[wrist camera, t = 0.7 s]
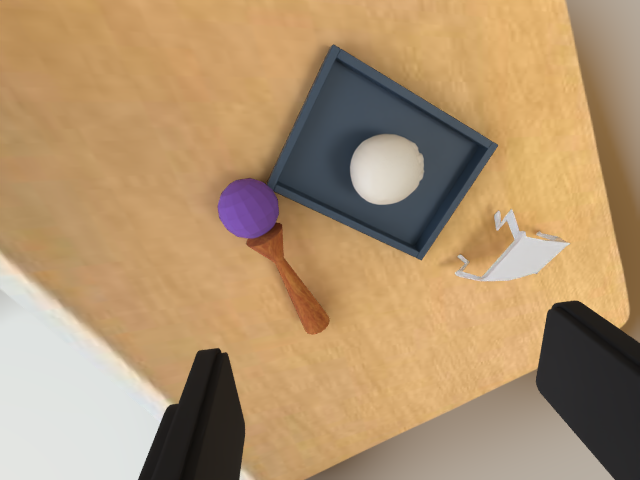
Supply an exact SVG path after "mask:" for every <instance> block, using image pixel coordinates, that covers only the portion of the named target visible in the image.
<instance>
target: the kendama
mask: <svg viewBox="0 0 640 480" xmlns="http://www.w3.org/2000/svg"><path fill="white" fill-rule="evenodd" d="M218 212H219V218H220V220H221V221H222V223H223V224H224V226H225V227H226V228H227V230H228V231H230V232H231V233H233V234H234V235H236V236H237V237H243V238H248V240H247V245H248V246H249V247H250V248H252V249H254V250H255V251H257V252H258V253H260V254H262V255H263V256H265V257H267V258H268V259H270V260H272V261H273V262H275V263H276V266H277V268H278V270H279V272H280V275H281V277H282V279H283V281H284V284H285V286H286V288H287V290H288V293H289V295H290V297H291V299H292V302H293V304H294V306H295V308H296V311H297V313H298V315H299V317H300V320H301V322H302V324H303V326H304V329H305V331H306V332H307V333H308V334H317V333H320V332H322V331H323V330H324V329H325V328H326V327H327V326H328V324H329V321H330V320H329V316H328V315H327V314H326V312H325V311H324V310H323V308H322V307H321V306H320V304H319V303H318V302H317V301H316V299H315V298H314V297H313V295H312V294H311V293H310V291H309V290H308V289H307V287H306V286H305V285H304V283H303V282H302V281H301V280H300V278H299V277H298V276H297V274H296V273H295V272H294V270H293V269H292V268H291V266H290V265H289V264H288V262H287V261H286V260H285V258H284V253H283V234H282V224H280V223H276V220H277V218H278V215H279V208H278V199H277V197H276V195H275V194H274V192H273V190H272V189H271V188H270V187H268V186H267V185H266V184H265V183H263V182H261V181H258V180H255V179H251V178H247V179H240V180H236V181H234V182H232V183H230V184H229V185H228V186H227V188H226V189H225V190H224V191H223V192H222V193H221V196H220V200H219V204H218Z"/></svg>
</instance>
